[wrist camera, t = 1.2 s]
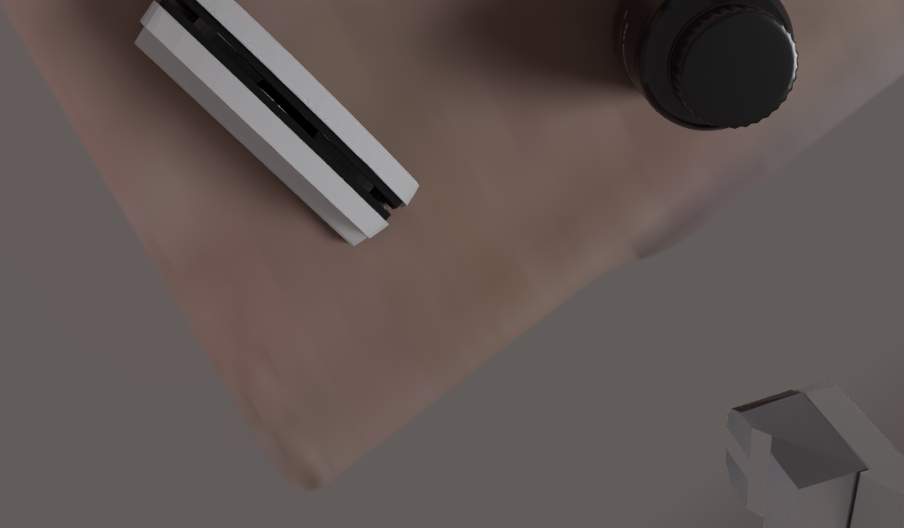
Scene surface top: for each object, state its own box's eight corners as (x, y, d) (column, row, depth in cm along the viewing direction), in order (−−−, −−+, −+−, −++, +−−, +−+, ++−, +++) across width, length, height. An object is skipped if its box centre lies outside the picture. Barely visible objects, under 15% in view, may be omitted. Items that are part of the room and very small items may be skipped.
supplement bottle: (583, 32, 44) (614, 71, 33) (681, -69, 42) (750, -64, 31) (669, 120, 46) (727, 185, 35) (768, 27, 44) (863, 64, 33)
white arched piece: (133, 41, 45) (94, 15, 36) (193, -22, 46) (171, -64, 36) (355, 248, 50) (375, 275, 40) (410, 190, 50) (443, 203, 40)
